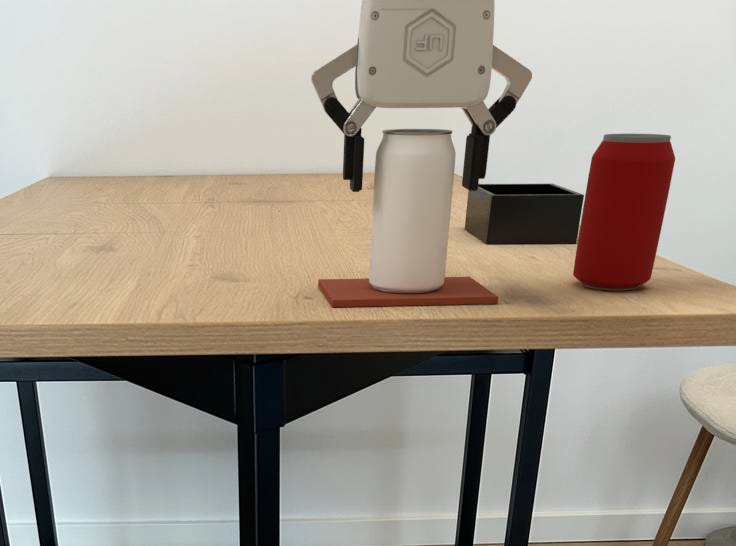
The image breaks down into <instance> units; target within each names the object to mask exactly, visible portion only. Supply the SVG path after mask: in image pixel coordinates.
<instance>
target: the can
mask: <svg viewBox="0 0 736 546" xmlns="http://www.w3.org/2000/svg"><path fill="white" fill-rule="evenodd" d="M381 132H382V139H381V141H380V143H379V145H378V146H377V150H376V151H375V152H376V154H375V162H374V175H373V176H374V177H373V196H372V213H371V214H372V215H371V233H370V249H369V250H370V251H369V253H370V254H369V273H368V278H369V283H370V284H371V285H372V287H373V288H374V289H376V290H379V291H383V292H388V293H398V294H420V293H429V292H434V291H437V290H438V289H439V288H440V286H442V285H443V283H444V277H446V276H445V275H446V268H447V267H446V266H447V255H448V246H449V245H448V244H449V234H450V226H451V225H450V223H451V211H452V203H453V202H452V201H453V189H454V179H455V167H456V148H455V146H454V143H453V139H452V134H453V129H440V128H393V129H391V128H390V129H384V130H382V131H381Z"/></svg>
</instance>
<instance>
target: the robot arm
mask: <svg viewBox="0 0 736 546" xmlns="http://www.w3.org/2000/svg"><path fill="white" fill-rule="evenodd" d="M494 31H495V0H361V6H360V15H359V24H358V32H357V33H358V34H357V42H356V44H355V45H354V46H352V47H351V48H349V49H348V50H346V51H344V52H342V53H340V55H338V56H336V57H335V58H333V59H332V60H330V61H328V62H327V63H325V64H323V65H322V66H321V67H319V68H318V69H316V70H314V71H312V73H311V75H310V82H311V84H312V86H313V89H314V91H315V93H316V95H317V97H318V100H319V101H320V104H321V106H322V108H323V111H324V112H325V114H326V115H327V116H328V117H329V118H330V119H331V121H332V122H333V123H334V124H335V125H336V127H337V128H338V129H339V130H340V131H341V132H342V134H343V157H342V158H343V159H342V160H343V161H342V162H343V163H342V179H343V180H344V181H349V189H350V190H351V192H352V193H360V191H362V190H363V178H364V155H365V138H364V137H363V136H362V127H363V126H364V124H365V123H366V121H367V120H368V118H370V116H372V113H373V112H374V111H375V109H376V108H381V109H448V108H449V109H451V108H452V109H453V108H460V109H461V110H462V111H463V113H464V115H465V116H466V119H468V121H469V123H470V125H471V130H470V133H468V135H466V139H465V148H464V158H463V167H462V169H463V170H462V179H461V186H462V187H463V188H464V189H466V190H470V191H477V190H478V184H480V183H479V182H480V180H484V179H485V178H486V175H487V167H488V158H489V148H490V139H491V136H492V135H493V134H494V133H495V131H496V130H497V128H498V127H499V126H500V125H501V124H502V123H503V122H504V121H505V120H506V119H507V118H508V117H509V116H510V115H511V114H512V113H513V112H514V111H515V110H516V107H517V104H518V103H519V101H520V99H521V98H522V97H523V95H524V93H525V91H526V89H527V88H528V86H529V84H530V82H531V81H532V79H533V73H532V70H530V69H529V68H528V67H526V66H525V65H523V64H522V63H521V62H520V61H518V60H516V59H514V58H513V57H512V56H510V55H509V54H508V53H506V52H504V51H503V50H501V49H500V48H499V47H498V46H496V45H494ZM353 68H355V70H354V71H355V72H354V91H355V95H356V96H355V97H356V98H357V100H356V102H355V103H354V104H353V105H352V106H351V108H350V110H349V111H348V110H347V109H346V108H345V106H344V105H343V104H342V103H341V102H340V100H339V99H338V97H337V95H336V93H335V90H334V87H333V84H334V81H335V80H336V79H337V78H339V77H341V76H342V75H344V74H346V73H348V72H349V71H350V70H352V69H353ZM492 70H493V71H494V72H496V73H497V74H499V75H500V76H502V77H504V79H505V81H506V85H505V87H504V89H503V92H502V94H501V95H500V96H499V98H498V99H496V100H495V101H494V103H492V105H490V107H487V104H486V103H485V102H484V101H485V100H486V98H487V97H488V95H489V91H490V88H491V87H490V86H491V79H492V72H493V71H492Z"/></svg>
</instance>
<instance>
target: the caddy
mask: <svg viewBox="0 0 736 546" xmlns="http://www.w3.org/2000/svg"><path fill="white" fill-rule="evenodd" d="M467 190H468V189H467ZM466 200H467V202H466V211H465V220H464V221H465V222H464V229H465V230H466V231H467V232H469V233H470V234H472V235H473V236H474V237H476V238H477V239H479V240H480V241H481V242H483V243H484V244H486V245H554V244H555V245H560V244H562V245H563V244H564V245H566V244H567V245H568V244H570V245H572V244H574V245H575V244H577V243H578V237H579V231H580V225H581V218H582V212H583V206H584V200H585V194H583V193H580V192H579V191H578V192H577V191H575V190H573V189H569V188H567V187H564V186H561V185H558V184H555V183H478V190H477V191H470V190H468V191H467V199H466Z"/></svg>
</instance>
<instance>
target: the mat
mask: <svg viewBox="0 0 736 546" xmlns="http://www.w3.org/2000/svg"><path fill="white" fill-rule="evenodd" d="M317 286H318V288H319V290H320V292H321V293H322V295H324V297H325V299H326V300H327V302H328V303H329V304H330V306H331V307H332V308H359V307H360V308H361V307H362V308H363V307H364V308H365V307H405V306H406V307H407V306H410V307H411V306H412V307H413V306H451V305H452V306H457V305H461V306H462V305H497V304H498V303H499V296H498V294H495V293H494V292H493V291H491V290H490V289H488V288H486V287H485V286H484V285H482V284H481V283H479V282H478V281H477V280H475V279H474V278H472V277H471V276H445V277H444V283H443V285H442V286H440V288H439V289H438V290H437V291H434V292H429V293H420V294H398V293H388V292H383V291H379V290H376V289H374V288H373V287H372V285H371V284H370V283H369V277H367V278H322V279H321V278H320V279H319V278H318V280H317Z"/></svg>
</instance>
